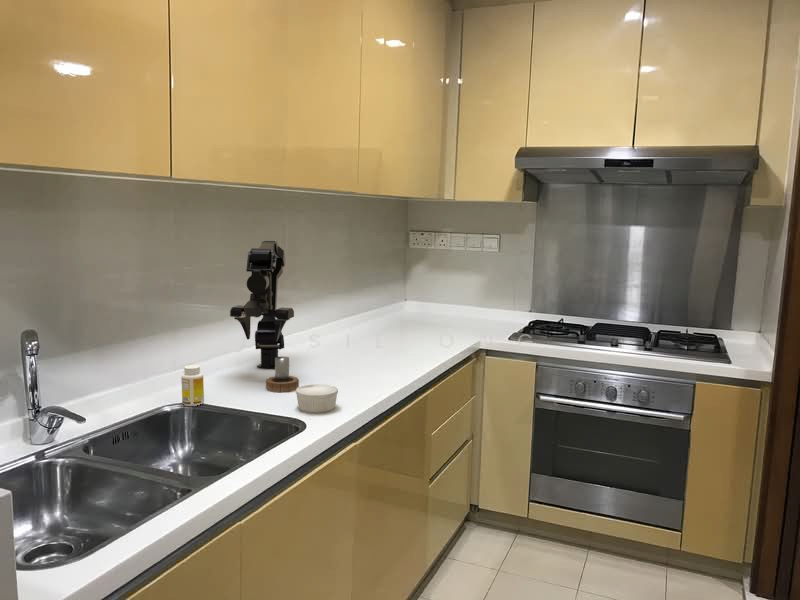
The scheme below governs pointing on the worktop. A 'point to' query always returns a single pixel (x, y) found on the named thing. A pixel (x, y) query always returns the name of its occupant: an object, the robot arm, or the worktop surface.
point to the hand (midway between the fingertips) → (262, 340)
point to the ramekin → (316, 398)
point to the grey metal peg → (282, 369)
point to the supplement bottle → (192, 386)
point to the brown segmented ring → (282, 385)
